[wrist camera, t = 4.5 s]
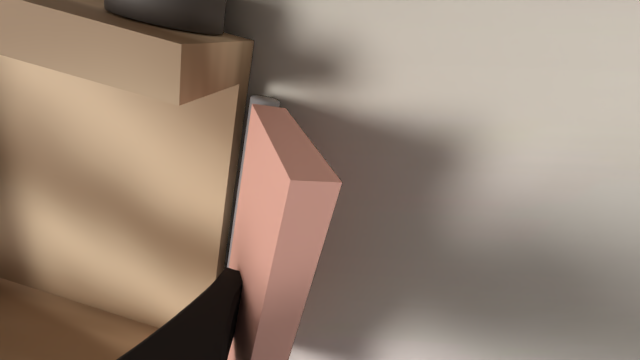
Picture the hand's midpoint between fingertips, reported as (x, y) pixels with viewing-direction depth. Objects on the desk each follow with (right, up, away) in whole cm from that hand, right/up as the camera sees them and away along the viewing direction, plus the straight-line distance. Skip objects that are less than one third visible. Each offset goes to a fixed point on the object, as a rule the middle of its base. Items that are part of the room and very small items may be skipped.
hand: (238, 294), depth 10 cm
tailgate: (0, +1, +2) cm, 2 cm away
